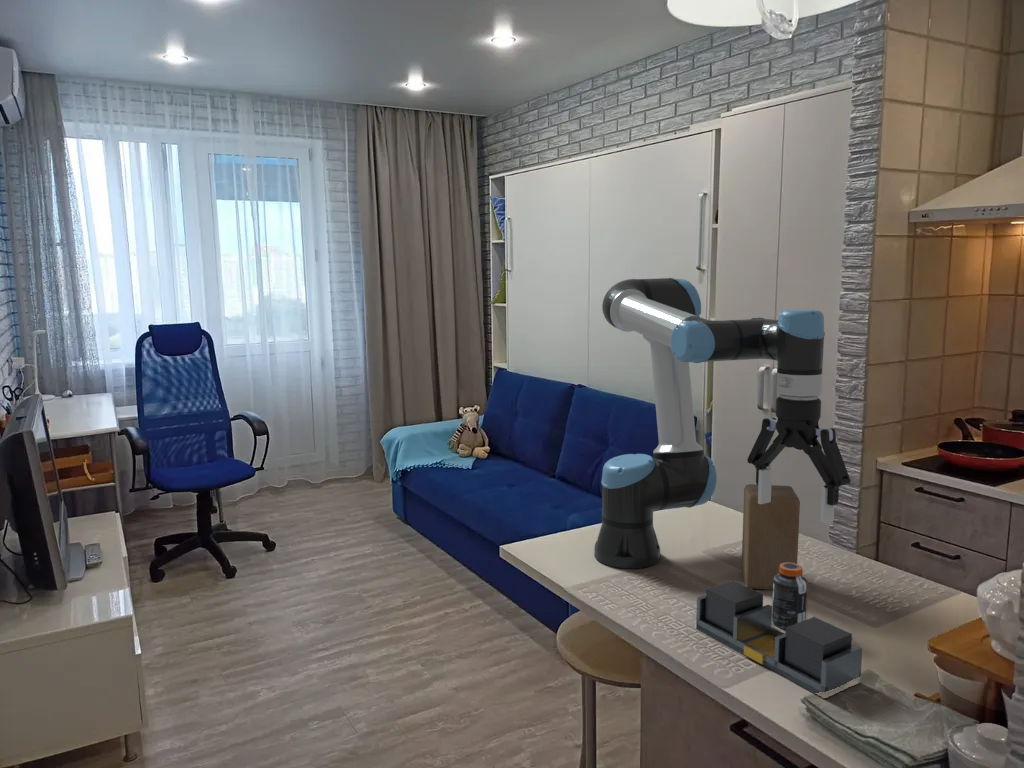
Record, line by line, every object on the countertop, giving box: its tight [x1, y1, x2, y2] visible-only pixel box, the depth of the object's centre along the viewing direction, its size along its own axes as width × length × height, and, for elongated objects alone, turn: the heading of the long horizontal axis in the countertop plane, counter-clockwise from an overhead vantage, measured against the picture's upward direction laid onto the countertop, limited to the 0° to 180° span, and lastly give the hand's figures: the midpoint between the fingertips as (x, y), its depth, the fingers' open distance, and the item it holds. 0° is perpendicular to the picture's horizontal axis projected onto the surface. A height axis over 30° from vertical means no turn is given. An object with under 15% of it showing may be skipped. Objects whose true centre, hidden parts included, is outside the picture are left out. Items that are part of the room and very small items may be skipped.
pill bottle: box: [771, 563, 808, 630], centre depth 137 cm, size 6×6×11 cm
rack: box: [695, 580, 863, 694], centre depth 126 cm, size 27×9×8 cm, turn 31°
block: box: [741, 483, 801, 591], centre depth 155 cm, size 10×10×20 cm
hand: (794, 512), depth 134 cm, fingers open, 13 cm apart
